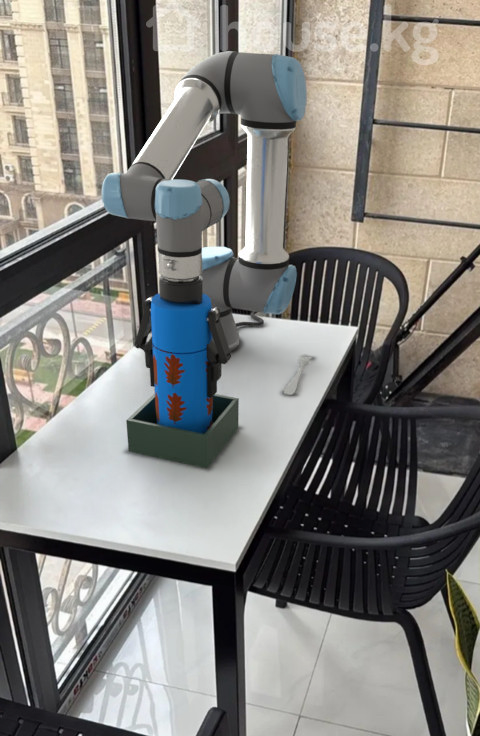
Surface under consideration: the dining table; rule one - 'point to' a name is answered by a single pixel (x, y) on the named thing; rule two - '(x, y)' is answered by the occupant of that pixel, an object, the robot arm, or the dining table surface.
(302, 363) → the fork
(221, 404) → the box
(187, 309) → the thermos
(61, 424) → the dining table surface
